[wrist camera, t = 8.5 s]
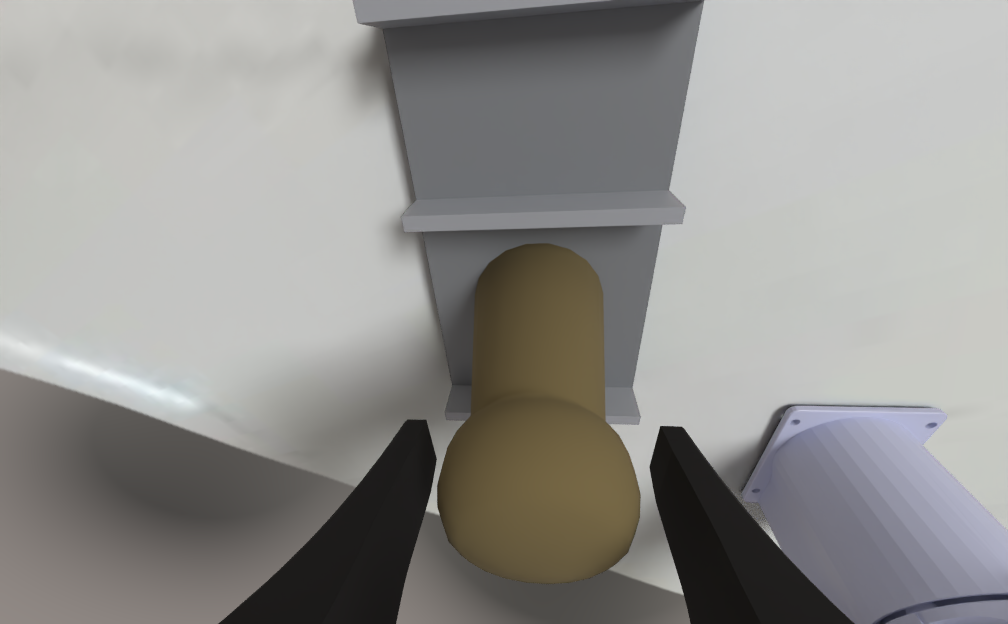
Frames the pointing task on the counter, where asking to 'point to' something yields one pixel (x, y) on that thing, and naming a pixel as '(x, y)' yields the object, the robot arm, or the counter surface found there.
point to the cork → (539, 429)
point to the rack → (541, 149)
